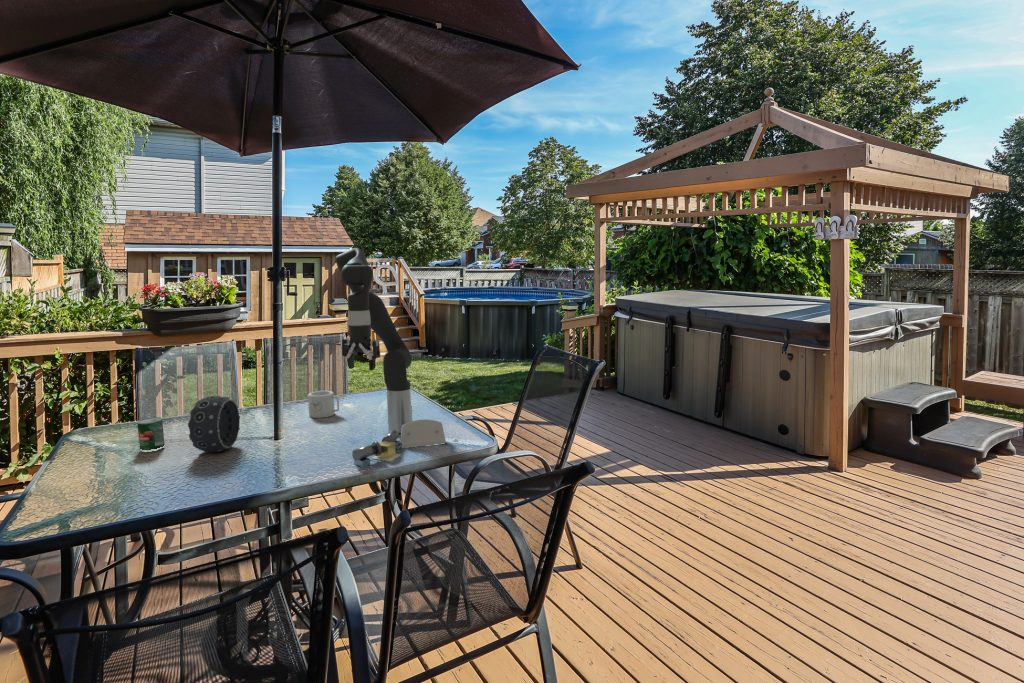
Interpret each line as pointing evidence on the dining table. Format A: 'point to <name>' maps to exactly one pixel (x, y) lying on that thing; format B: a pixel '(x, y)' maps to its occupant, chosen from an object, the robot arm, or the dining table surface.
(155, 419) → the canned tomato
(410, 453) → the dining table surface
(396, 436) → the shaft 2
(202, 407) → the dark grey drum piece
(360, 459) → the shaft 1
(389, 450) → the block
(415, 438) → the grey rounded block
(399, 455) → the plate
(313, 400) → the mug
